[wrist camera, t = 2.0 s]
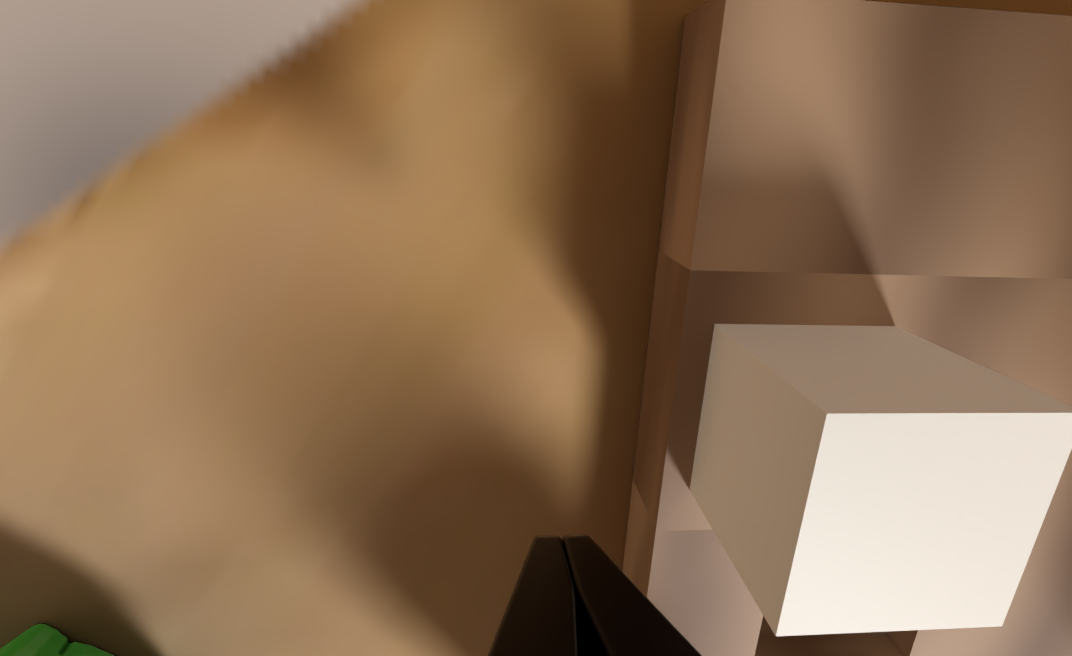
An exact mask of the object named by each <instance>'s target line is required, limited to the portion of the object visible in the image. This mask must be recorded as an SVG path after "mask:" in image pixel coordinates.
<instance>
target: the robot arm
mask: <svg viewBox="0 0 1072 656" xmlns="http://www.w3.org/2000/svg"><path fill="white" fill-rule="evenodd" d="M488 656H702V655H701V654H700V653H699V652H698V651H697V650H696V649H695V648H694V647H693V646H692V645H691V643H690V642H689V641H688V640H687V639H686V638H685V637H684V636H683V635H682V634H681V633H680V632H679V631H678V630H677V629H676V628H675V627H674V626H673V624H672V623H671V622H670V621H669V620H668V619H667V618H666V617H665V616H664V615H663V614H662V613H661V612H660V611H659V610H658V609H657V608H656V607H655V605H654V604H653V603H652V602H651V601H650V600H649V599H648V598H647V597H646V596H645V595H644V594H643V593H642V592H641V591H640V590H639V589H638V588H637V586H636V585H635V584H634V583H633V582H632V581H631V580H630V579H629V578H628V577H627V576H626V575H625V574H624V573H623V572H622V571H621V570H620V569H619V567H618V566H617V565H616V564H615V563H614V562H613V561H612V560H611V559H610V558H609V557H608V556H607V555H606V554H605V553H604V552H603V551H602V550H601V548H600V547H599V546H598V545H597V544H596V543H595V542H594V541H593V540H592V539H591V538H590V537H589V536H587V535H564V536H563V537H562V539H561V538H560V537H559V536H557V535H550V536H536V537H535V538H534V539H533V541H532V544H531V546H530V549H529V552H528V554H527V557H526V559H525V562H524V564H523V567H522V570H521V572H520V575H519V577H518V580H517V582H516V585H515V587H514V590H513V593H512V595H511V598H510V600H509V603H508V605H507V608H506V611H505V613H504V616H503V618H502V621H501V623H500V626H499V628H498V631H497V634H496V636H495V639H494V641H493V644H492V646H491V649H490V652H489V654H488Z"/></svg>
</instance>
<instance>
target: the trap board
mask: <svg viewBox="0 0 1072 656" xmlns="http://www.w3.org/2000/svg"><path fill="white" fill-rule="evenodd" d="M714 324H768V325H844V326H896V327H898V328H900V329H903V330H905V331H907V332H909V333H911V334H914V335H916V336H918V337H920V338H922V339H925V340H927V341H929V342H931V343H933V344H936V345H938V346H940V347H942V348H944V349H947V350H949V351H951V352H953V353H955V354H958V355H960V356H962V357H964V358H966V359H969V360H971V361H973V362H975V363H977V364H980V365H982V366H984V367H986V368H988V369H991V370H993V371H995V372H997V373H999V374H1002V375H1004V376H1006V377H1008V378H1010V379H1013V380H1015V381H1017V382H1019V383H1021V384H1024V385H1026V386H1028V387H1030V388H1032V389H1035V390H1037V391H1039V392H1041V393H1043V394H1046V395H1048V396H1050V397H1052V398H1054V399H1057V400H1059V401H1061V402H1063V403H1065V404H1068V405H1070V406H1072V16H1068V15H1054V14H1041V13H1027V12H1014V11H1000V10H986V9H973V8H959V7H946V6H932V5H919V4H905V3H892V2H878V1H865V0H711V1H709V2H707V3H706V4H704V5H702V6H701V7H699V8H697V9H696V10H694V11H692V12H691V13H689V14H687V15H686V16H685V19H684V28H683V37H682V46H681V55H680V64H679V73H678V82H677V90H676V99H675V108H674V117H673V126H672V135H671V144H670V153H669V161H668V170H667V179H666V188H665V197H664V206H663V215H662V224H661V232H660V241H659V250H658V259H657V268H656V277H655V286H654V295H653V303H652V312H651V321H650V330H649V339H648V348H647V357H646V366H645V374H644V383H643V392H642V401H641V410H640V419H639V428H638V437H637V445H636V454H635V463H634V472H633V481H632V490H631V499H630V508H629V516H628V525H627V534H626V543H625V552H624V561H623V570H622V572H623V573H624V574H625V575H626V576H627V577H628V578H629V579H630V580H631V581H632V582H633V583H634V584H635V585H636V586H637V588H638V589H639V590H640V591H641V592H642V593H643V594H644V595H645V596H646V597H647V598H648V599H649V600H650V601H651V602H652V603H653V604H654V605H655V607H656V608H657V609H658V610H659V611H660V612H661V613H662V614H663V615H664V616H665V617H666V618H667V619H668V620H669V621H670V622H671V623H672V624H673V626H674V627H675V628H676V629H677V630H678V631H679V632H680V633H681V634H682V635H683V636H684V637H685V638H686V639H687V640H688V641H689V642H690V643H691V645H692V646H693V647H694V648H695V649H696V650H697V651H698V652H699V653H700V654H701V655H702V656H1072V449H1071V452H1070V454H1069V457H1068V460H1067V462H1066V465H1065V467H1064V470H1063V472H1062V475H1061V477H1060V480H1059V482H1058V485H1057V488H1056V490H1055V493H1054V495H1053V498H1052V500H1051V503H1050V505H1049V508H1048V511H1047V513H1046V516H1045V518H1044V521H1043V523H1042V526H1041V528H1040V531H1039V533H1038V536H1037V539H1036V541H1035V544H1034V546H1033V549H1032V551H1031V554H1030V556H1029V559H1028V561H1027V564H1026V567H1025V569H1024V572H1023V574H1022V577H1021V579H1020V582H1019V584H1018V587H1017V590H1016V592H1015V595H1014V597H1013V600H1012V602H1011V605H1010V607H1009V610H1008V612H1007V615H1006V618H1005V620H1004V623H1003V625H1002V626H1001V627H978V628H955V629H933V630H910V631H888V632H865V633H842V634H820V635H797V636H775V634H774V633H773V631H772V629H771V628H770V626H769V624H768V623H767V621H766V619H765V617H764V616H763V614H762V612H761V611H760V609H759V607H758V606H757V604H756V602H755V600H754V599H753V597H752V595H751V594H750V592H749V590H748V588H747V587H746V585H745V583H744V582H743V580H742V578H741V577H740V575H739V573H738V571H737V570H736V568H735V566H734V565H733V563H732V561H731V560H730V558H729V556H728V554H727V553H726V551H725V549H724V548H723V546H722V544H721V543H720V541H719V539H718V537H717V536H716V534H715V532H714V531H713V529H712V527H711V526H710V524H709V522H708V520H707V519H706V517H705V515H704V514H703V512H702V510H701V509H700V507H699V505H698V503H697V502H696V500H695V498H694V497H693V495H692V493H691V492H690V483H691V477H692V470H693V463H694V457H695V450H696V443H697V437H698V430H699V424H700V417H701V410H702V404H703V397H704V390H705V384H706V377H707V371H708V364H709V357H710V351H711V344H712V337H713V331H714Z"/></svg>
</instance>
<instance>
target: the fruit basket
mask: <svg viewBox="0 0 1072 656" xmlns="http://www.w3.org/2000/svg"><path fill="white" fill-rule="evenodd" d="M0 656H114V655H112V654H110V653H108V652H106V651H103V650H101V649H99V648H97V647H94V646H92V645H88V644H83V643H79V642H73V643H68V639H67V637H65V636H64V635H63V634H62V633H60V632H59V631H58V630H56V629H55V628H53V627H51V626H48V625H46V624H37V625H34V626H32V627H31V628H29V629H27V630H26V631H25V632H23V633H22V634H20V635H19V636H17V637H16V638H15V639H13V640H12V641H10V642H9V643H8V644H6V645H5V646H3V647H2V648H1V649H0Z"/></svg>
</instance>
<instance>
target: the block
mask: <svg viewBox="0 0 1072 656" xmlns="http://www.w3.org/2000/svg"><path fill="white" fill-rule="evenodd" d="M1071 449H1072V406H1070V405H1068V404H1065V403H1063V402H1061V401H1059V400H1057V399H1054V398H1052V397H1050V396H1048V395H1046V394H1043V393H1041V392H1039V391H1037V390H1035V389H1032V388H1030V387H1028V386H1026V385H1024V384H1021V383H1019V382H1017V381H1015V380H1013V379H1010V378H1008V377H1006V376H1004V375H1002V374H999V373H997V372H995V371H993V370H991V369H988V368H986V367H984V366H982V365H980V364H977V363H975V362H973V361H971V360H969V359H966V358H964V357H962V356H960V355H958V354H955V353H953V352H951V351H949V350H947V349H944V348H942V347H940V346H938V345H936V344H933V343H931V342H929V341H927V340H925V339H922V338H920V337H918V336H916V335H914V334H911V333H909V332H907V331H905V330H903V329H900V328H898V327H896V326H844V325H768V324H714V331H713V337H712V344H711V351H710V357H709V364H708V371H707V377H706V384H705V390H704V397H703V404H702V410H701V417H700V424H699V430H698V437H697V443H696V450H695V457H694V463H693V470H692V477H691V483H690V492H691V493H692V495H693V497H694V498H695V500H696V502H697V503H698V505H699V507H700V509H701V510H702V512H703V514H704V515H705V517H706V519H707V520H708V522H709V524H710V526H711V527H712V529H713V531H714V532H715V534H716V536H717V537H718V539H719V541H720V543H721V544H722V546H723V548H724V549H725V551H726V553H727V554H728V556H729V558H730V560H731V561H732V563H733V565H734V566H735V568H736V570H737V571H738V573H739V575H740V577H741V578H742V580H743V582H744V583H745V585H746V587H747V588H748V590H749V592H750V594H751V595H752V597H753V599H754V600H755V602H756V604H757V606H758V607H759V609H760V611H761V612H762V614H763V616H764V617H765V619H766V621H767V623H768V624H769V626H770V628H771V629H772V631H773V633H774V634H775V636H797V635H820V634H842V633H865V632H888V631H910V630H933V629H955V628H978V627H1001V626H1002V625H1003V623H1004V620H1005V618H1006V615H1007V612H1008V610H1009V607H1010V605H1011V602H1012V600H1013V597H1014V595H1015V592H1016V590H1017V587H1018V584H1019V582H1020V579H1021V577H1022V574H1023V572H1024V569H1025V567H1026V564H1027V561H1028V559H1029V556H1030V554H1031V551H1032V549H1033V546H1034V544H1035V541H1036V539H1037V536H1038V533H1039V531H1040V528H1041V526H1042V523H1043V521H1044V518H1045V516H1046V513H1047V511H1048V508H1049V505H1050V503H1051V500H1052V498H1053V495H1054V493H1055V490H1056V488H1057V485H1058V482H1059V480H1060V477H1061V475H1062V472H1063V470H1064V467H1065V465H1066V462H1067V460H1068V457H1069V454H1070V452H1071Z"/></svg>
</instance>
